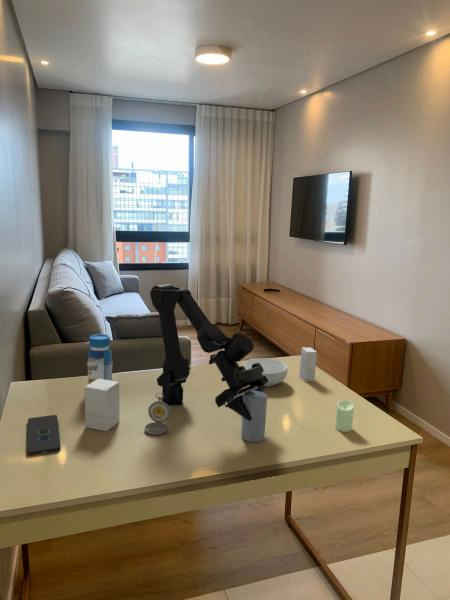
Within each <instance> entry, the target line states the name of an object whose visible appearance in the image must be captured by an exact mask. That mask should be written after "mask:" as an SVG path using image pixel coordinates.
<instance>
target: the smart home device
mask: <svg viewBox="0 0 450 600" xmlns="http://www.w3.org/2000/svg"><path fill="white" fill-rule="evenodd" d="M26 434H27V445H26V447H27V448H26V450H27V453H26V455H27V456H28V457H31V456H38V455H45V454H51V453H57V452H60V451H61V438H60V436H61V435H60V425H59V420H58V415H57V414H53V415H51V414H50V415H44V416H35V417H28V419H27V426H26Z"/></svg>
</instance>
